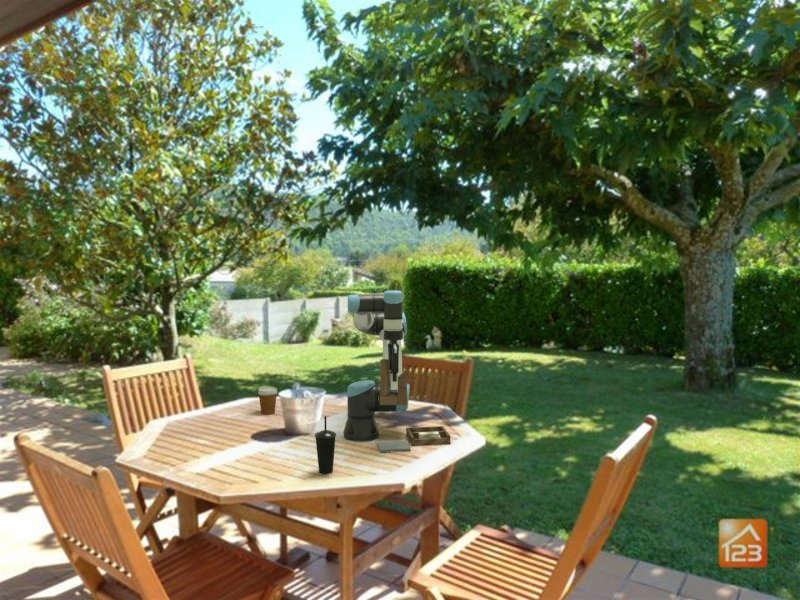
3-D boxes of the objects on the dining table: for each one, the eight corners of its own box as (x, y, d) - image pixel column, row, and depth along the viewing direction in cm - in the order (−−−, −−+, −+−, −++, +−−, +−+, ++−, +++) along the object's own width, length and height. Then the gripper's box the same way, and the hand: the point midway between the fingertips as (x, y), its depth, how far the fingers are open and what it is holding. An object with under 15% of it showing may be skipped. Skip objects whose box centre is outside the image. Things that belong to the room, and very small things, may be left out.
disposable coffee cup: (254, 413, 287) (254, 389, 286) (271, 409, 293) (271, 386, 292) (264, 417, 280) (263, 392, 279) (281, 413, 286) (281, 389, 285)
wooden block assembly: (406, 405, 231) (406, 360, 230) (379, 405, 231) (379, 360, 230) (407, 403, 235) (407, 358, 233) (380, 403, 235) (380, 358, 234)
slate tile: (380, 452, 228) (380, 450, 228) (377, 443, 239) (377, 441, 239) (410, 451, 230) (410, 448, 230) (406, 442, 240) (406, 440, 240)
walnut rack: (411, 446, 236) (411, 437, 235) (406, 435, 250) (406, 427, 249) (450, 444, 238) (450, 435, 238) (442, 434, 252) (442, 426, 252)
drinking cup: (337, 467, 211) (337, 413, 210) (335, 475, 204) (335, 419, 202) (316, 468, 211) (315, 413, 210) (313, 475, 203) (313, 419, 202)
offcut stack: (418, 444, 238) (419, 434, 238) (417, 442, 241) (417, 432, 241) (440, 443, 239) (440, 433, 239) (438, 441, 243) (438, 431, 242)
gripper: (406, 332, 223) (406, 392, 224) (399, 327, 240) (399, 383, 241) (386, 332, 222) (386, 393, 223) (381, 327, 239) (381, 383, 240)
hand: (393, 387), depth 232 cm, fingers closed on wooden block assembly, 4 cm apart
